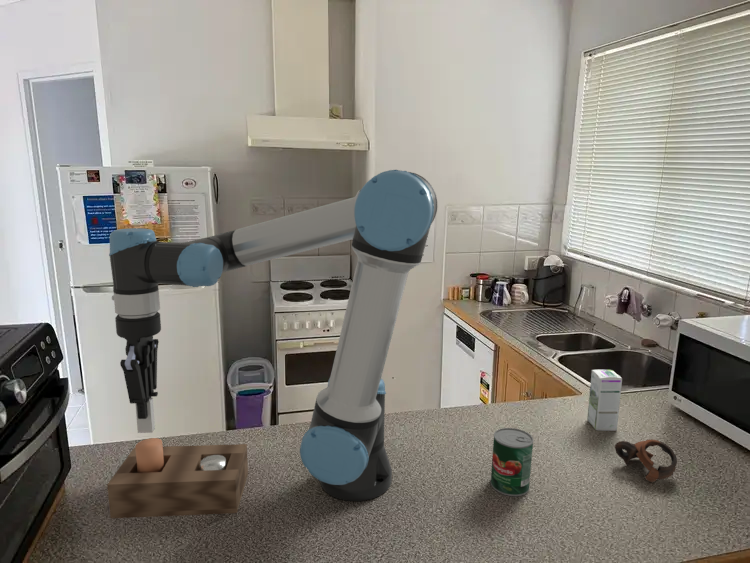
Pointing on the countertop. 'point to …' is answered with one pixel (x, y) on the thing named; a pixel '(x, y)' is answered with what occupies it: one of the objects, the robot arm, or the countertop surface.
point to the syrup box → (604, 400)
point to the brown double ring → (647, 457)
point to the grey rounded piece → (213, 463)
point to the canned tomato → (511, 461)
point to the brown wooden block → (180, 484)
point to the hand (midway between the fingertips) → (146, 430)
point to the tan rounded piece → (149, 455)
